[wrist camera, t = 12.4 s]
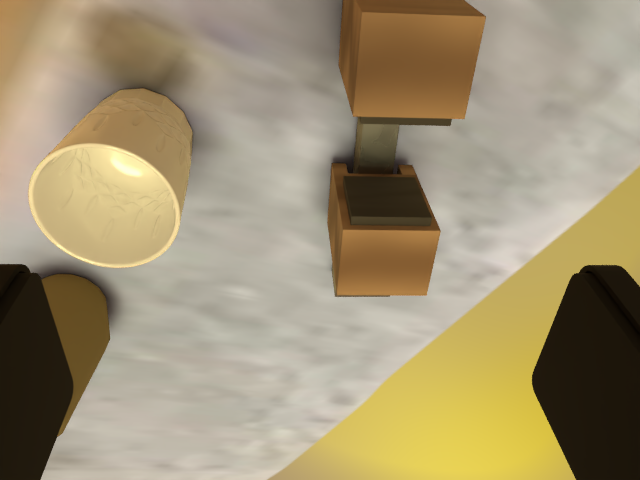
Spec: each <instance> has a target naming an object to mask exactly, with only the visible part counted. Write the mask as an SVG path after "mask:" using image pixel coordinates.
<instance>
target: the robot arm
mask: <svg viewBox="0 0 640 480" xmlns="http://www.w3.org/2000/svg"><path fill="white" fill-rule="evenodd" d="M532 385H533V390H534V392H535V394H536V397H537V399H538V401H539V403H540V405H541V407H542V409H543V411H544V413H545V415H546V417H547V420H548V422H549V424H550V426H551V428H552V430H553V432H554V434H555V436H556V438H557V440H558V443H559V445H560V447H561V449H562V451H563V453H564V455H565V457H566V459H567V462H568V464H569V465H570V468H571V470H572V472H573V474H574V476H575V478H576V480H640V287H639V285H638V284H637V283H636V282H635V281H634V279H633V278H632V277H631V276H630V275H629V274H628V272H627V271H626V270H625V269H623V268H622V267H621V266H617V265H588V266H585V267H583V268H582V269H581V270H580V272H579V273H576V274H574V275H573V276H572V277H571V279H570V281H569V284H568V286H567V289H566V291H565V294H564V296H563V299H562V301H561V304H560V306H559V309H558V311H557V314H556V316H555V319H554V321H553V324H552V326H551V329H550V332H549V334H548V336H547V339H546V342H545V344H544V346H543V349H542V351H541V354H540V356H539V359H538V361H537V364H536V366H535V369H534V372H533V375H532ZM73 388H74V385H73V378H72V375H71V372H70V368H69V365H68V362H67V359H66V356H65V353H64V350H63V346H62V343H61V340H60V337H59V334H58V331H57V327H56V324H55V321H54V318H53V315H52V312H51V309H50V305H49V302H48V299H47V296H46V293H45V290H44V287H43V283H42V280H41V278H40V276H39V275H38V274H37V273H30V270H29V268H28V267H27V266H26V265H22V264H0V480H40V479H41V477H42V474H43V471H44V469H45V466H46V464H47V461H48V459H49V456H50V454H51V451H52V448H53V446H54V443H55V441H56V438H57V436H58V433H59V431H60V428H61V425H62V423H63V420H64V418H65V415H66V413H67V410H68V408H69V405H70V402H71V399H72V396H73Z"/></svg>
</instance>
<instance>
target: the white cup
mask: <svg viewBox="0 0 640 480" xmlns="http://www.w3.org/2000/svg"><path fill="white" fill-rule="evenodd" d="M192 137H193V132H192V130H191V128H190V125H189V123H188V121H187V119H186V117H185V114H184V112H183V111H182V110H180V109H179V108H178V107H177V106H176V105H175V104H174V103H173V102H172V101H170V100H169V99H168V98H167V97H166V96H163V95H160V94H158V93H155V92H152V91H149V90H147V89H144V88H140V89H126V90H119V91H117V92H116V93H114V94H113V95H111V96H109V97H108V98H106V99H104V100H103V101H101V102H100V104H99V105H98V106H97V107H96V108H95V109H93V110H92V111H91V112H90V113H88V114H87V115H86V116H85V117H84V118H83V119H82V120H81V121H80V122H79V123H78V124H77V125H76V126H75V127H74V128H73V129H72V130H71V131H70V132H69V133H68V134H67V135H66V136H65V137H64V138H63V140H62V141H61V142H60V143H59V144H58V145H57V146H56V147H55V148H54V149H53V150H52V151H51V152H50V153H49V154H48V155H47V156H46V157H45V158H44V159H43V160H42V161H41V163H40V164H39V165H38V166H37V168H36V169H35V171H34V173H33V175H32V177H31V180H30V184H29V190H28V198H29V205H30V209H31V212H32V215H33V217H34V219H35V221H36V223H37V225H38V226H39V228H40V229H41V231H42V232H43V233H44V234H45V235H46V237H47V238H48V239H49V240H50V241H51V242H52V243H54V244H55V245H56V246H57V247H59V248H60V249H61V250H63V251H64V252H66V253H67V254H69V255H71V256H73V257H75V258H77V259H79V260H82V261H84V262H87V263H90V264H94V265H98V266H103V267H112V268H124V267H132V266H137V265H141V264H144V263H147V262H149V261H151V260H153V259H155V258H157V257H158V256H160V255H161V254H162V253H164V252H165V251H166V250H167V249H168V248H169V247H170V245H171V244H172V242H173V241H174V239H175V237H176V235H177V233H178V230H179V225H180V220H181V215H182V210H183V205H184V200H185V195H186V190H187V185H188V178H189V171H190V165H191V154H192Z"/></svg>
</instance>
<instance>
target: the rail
mask: <svg viewBox="0 0 640 480" xmlns="http://www.w3.org/2000/svg"><path fill="white" fill-rule="evenodd" d="M398 131H399V125H389V124H360V120H359V117H358V122H357V132H356V143H355V154H354V165H353V174H393V167H394V160H395V153H396V145H397V138H398ZM332 277H333V285H334V293H335V297H388V296H390V295H337V293H336V285H335V277H334V269H333V263H332Z"/></svg>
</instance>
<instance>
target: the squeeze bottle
mask: <svg viewBox="0 0 640 480" xmlns="http://www.w3.org/2000/svg"><path fill="white" fill-rule="evenodd" d="M42 283H43V287H44V290H45V293H46V296H47V299H48V302H49V305H50V309H51V312H52V315H53V318H54V321H55V324H56V327H57V331H58V334H59V337H60V340H61V343H62V346H63V350H64V353H65V356H66V359H67V362H68V365H69V368H70V372H71V375H72V378H73V385H74V388H73V396H72V399H71V402H70V405H69V408H68V410H67V413H66V415H65V418H64V420H63V423H62V425H61V428H60V431H59V433H58V436H59V435H61V434H62V433H63V431H64V429H65V427H66V425H67V424H68V422H69V420H70V418H71V416H72V414H73V412H74V410H75V408H76V406H77V404H78V402H79V400H80V398H81V396H82V394H83V392H84V391H85V389H86V387H87V385H88V383H89V381H90V379H91V377H92V375H93V373H94V371H95V369H96V367H97V365H98V363H99V361H100V359H101V357H102V356H103V354H104V352H105V349H106V347H107V345H108V342H109V340H110V332H109V321H108V311H107V303H106V297H105V296H104V294H103V293H102V292H101V290H100V289H99V287H97V286H96V285H94V284H93V283H92V282H90V281H89V280H87V279H85V278H82V277H79V276H76V275H73V274H55V275H52V276H48V277H45V278H43V279H42ZM58 436H57V437H58Z"/></svg>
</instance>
